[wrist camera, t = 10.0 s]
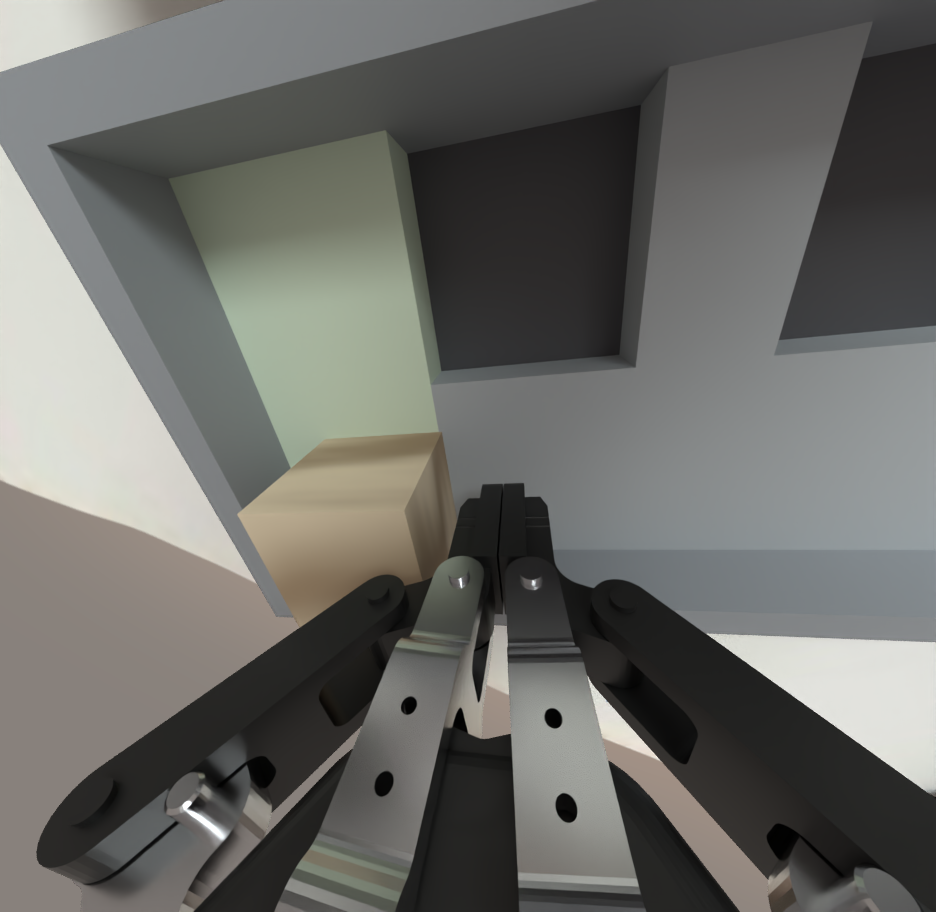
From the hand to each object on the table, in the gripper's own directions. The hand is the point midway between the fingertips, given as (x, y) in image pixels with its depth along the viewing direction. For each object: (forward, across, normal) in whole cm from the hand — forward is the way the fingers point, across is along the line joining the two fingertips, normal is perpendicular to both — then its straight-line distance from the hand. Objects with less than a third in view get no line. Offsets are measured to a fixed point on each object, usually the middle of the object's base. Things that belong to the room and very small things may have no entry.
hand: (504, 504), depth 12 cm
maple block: (+2, +5, 0) cm, 5 cm away
